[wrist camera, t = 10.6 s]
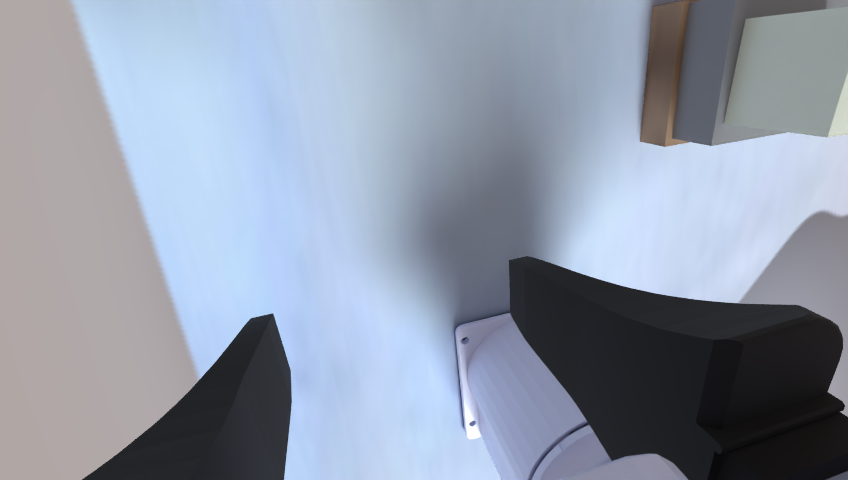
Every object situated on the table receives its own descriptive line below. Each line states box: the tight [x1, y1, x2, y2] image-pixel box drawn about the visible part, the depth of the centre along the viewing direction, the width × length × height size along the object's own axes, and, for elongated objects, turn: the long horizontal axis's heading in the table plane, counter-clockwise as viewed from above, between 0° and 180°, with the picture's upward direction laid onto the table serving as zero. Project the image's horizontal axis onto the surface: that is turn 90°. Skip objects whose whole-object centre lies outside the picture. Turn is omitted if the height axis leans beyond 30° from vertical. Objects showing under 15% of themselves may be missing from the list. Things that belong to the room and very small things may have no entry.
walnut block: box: [640, 0, 701, 147], centre depth 23 cm, size 7×7×2 cm
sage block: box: [724, 7, 848, 137], centre depth 18 cm, size 4×4×4 cm
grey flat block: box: [672, 0, 848, 146], centre depth 21 cm, size 6×6×2 cm
